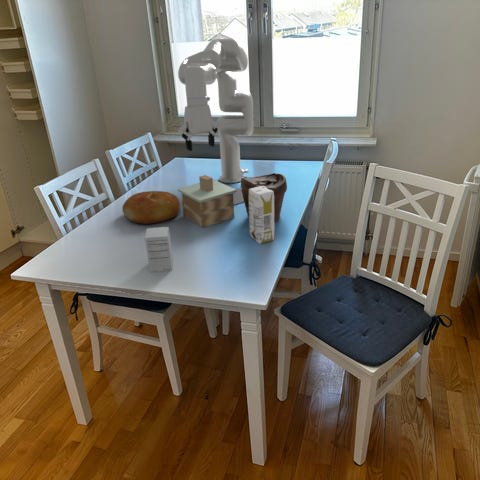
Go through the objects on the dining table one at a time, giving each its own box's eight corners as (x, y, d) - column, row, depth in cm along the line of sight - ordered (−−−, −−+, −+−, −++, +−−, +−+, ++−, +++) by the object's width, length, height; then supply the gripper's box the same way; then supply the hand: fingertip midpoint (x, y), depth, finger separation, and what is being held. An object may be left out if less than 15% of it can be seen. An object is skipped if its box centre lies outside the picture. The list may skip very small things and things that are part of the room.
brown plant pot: (294, 210, 184) (293, 169, 176) (277, 230, 168) (275, 185, 160) (254, 205, 191) (252, 165, 183) (234, 224, 175) (231, 181, 167)
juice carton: (258, 245, 157) (257, 195, 149) (247, 236, 164) (245, 188, 156) (277, 240, 160) (276, 191, 152) (265, 231, 167) (264, 184, 159)
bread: (150, 202, 200) (147, 181, 196) (191, 210, 189) (189, 188, 184) (113, 220, 183) (109, 198, 178) (156, 231, 172) (153, 207, 167)
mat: (238, 188, 211) (238, 187, 211) (259, 197, 199) (259, 196, 199) (210, 196, 203) (210, 195, 202) (230, 206, 191) (230, 205, 191)
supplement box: (151, 261, 150) (146, 227, 144) (173, 259, 151) (169, 226, 145) (149, 272, 144) (144, 237, 138) (172, 270, 144) (167, 236, 138)
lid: (213, 181, 188) (212, 167, 185) (236, 192, 175) (235, 177, 173) (177, 191, 179) (176, 176, 176) (199, 202, 167) (198, 187, 164)
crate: (214, 206, 191) (212, 182, 186) (234, 217, 180) (233, 192, 175) (184, 216, 184) (181, 191, 179) (203, 227, 173) (200, 201, 168)
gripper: (212, 98, 169) (214, 142, 177) (171, 103, 161) (176, 150, 168) (222, 100, 164) (224, 145, 171) (180, 106, 155) (185, 154, 163)
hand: (200, 147), depth 170 cm, fingers open, 9 cm apart
